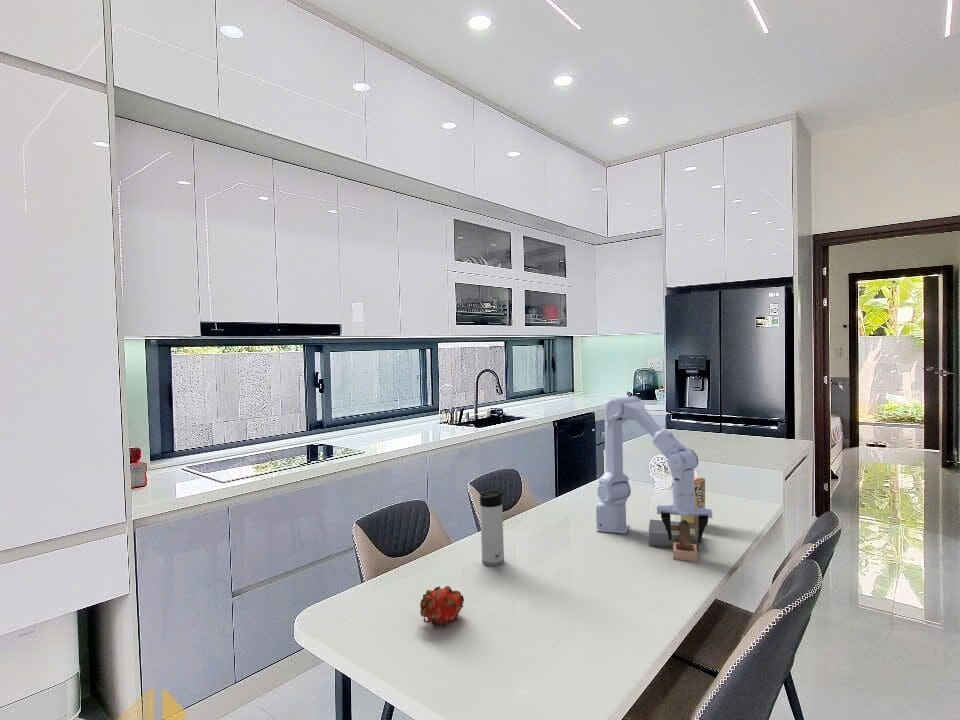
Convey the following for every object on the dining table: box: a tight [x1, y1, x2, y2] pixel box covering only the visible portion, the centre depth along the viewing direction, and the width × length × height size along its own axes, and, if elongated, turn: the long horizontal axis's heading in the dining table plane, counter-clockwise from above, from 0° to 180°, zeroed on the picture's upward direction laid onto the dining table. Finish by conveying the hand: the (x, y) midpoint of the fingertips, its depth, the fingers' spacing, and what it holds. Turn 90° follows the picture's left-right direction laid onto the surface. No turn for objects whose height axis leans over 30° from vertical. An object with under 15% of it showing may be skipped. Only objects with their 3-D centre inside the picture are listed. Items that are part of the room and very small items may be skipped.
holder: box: [672, 542, 698, 563], centre depth 150 cm, size 6×6×2 cm
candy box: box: [680, 475, 706, 523], centre depth 174 cm, size 9×4×15 cm, turn 129°
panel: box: [648, 519, 701, 552], centre depth 162 cm, size 14×12×4 cm
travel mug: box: [479, 490, 505, 567], centre depth 151 cm, size 6×7×20 cm
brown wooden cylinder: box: [679, 520, 690, 551], centre depth 150 cm, size 3×3×10 cm
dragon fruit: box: [419, 585, 465, 627], centre depth 120 cm, size 8×8×12 cm
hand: (684, 540), depth 150 cm, fingers open, 7 cm apart
